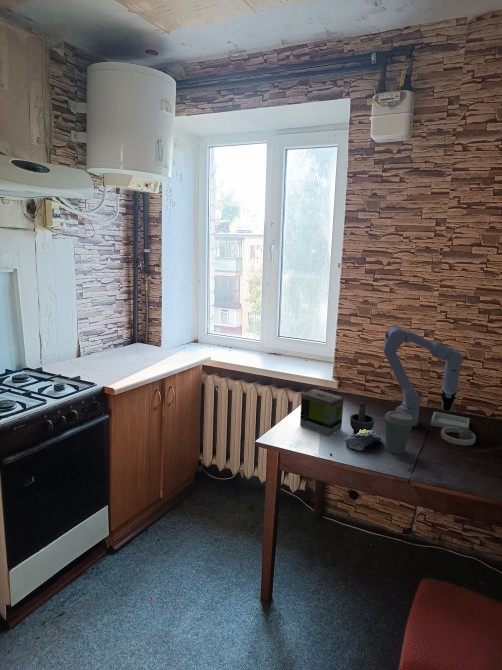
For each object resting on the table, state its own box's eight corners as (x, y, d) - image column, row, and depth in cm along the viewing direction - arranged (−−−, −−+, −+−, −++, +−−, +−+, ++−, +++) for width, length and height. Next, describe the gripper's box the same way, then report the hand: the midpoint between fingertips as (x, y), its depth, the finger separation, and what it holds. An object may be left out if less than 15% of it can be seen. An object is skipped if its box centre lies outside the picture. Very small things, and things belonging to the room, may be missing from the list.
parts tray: (430, 427, 192) (431, 420, 191) (433, 417, 202) (433, 411, 201) (467, 434, 185) (468, 428, 185) (468, 424, 195) (469, 418, 195)
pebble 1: (446, 412, 187) (447, 403, 186) (438, 408, 191) (440, 399, 190) (454, 411, 188) (456, 402, 187) (447, 407, 192) (448, 398, 191)
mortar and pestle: (373, 440, 178) (375, 412, 175) (349, 437, 180) (351, 410, 177) (371, 428, 189) (374, 402, 186) (349, 426, 191) (351, 399, 188)
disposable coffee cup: (386, 441, 177) (390, 406, 174) (414, 449, 171) (418, 413, 168) (377, 451, 169) (380, 414, 165) (405, 460, 163) (410, 422, 159)
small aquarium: (342, 429, 187) (344, 396, 184) (329, 437, 180) (331, 402, 176) (312, 419, 197) (314, 387, 194) (299, 425, 190) (300, 393, 186)
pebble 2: (464, 443, 176) (465, 433, 175) (456, 438, 180) (457, 429, 179) (473, 441, 177) (474, 432, 176) (465, 437, 181) (466, 427, 181)
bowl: (456, 449, 172) (457, 442, 172) (434, 435, 184) (435, 428, 183) (481, 445, 176) (482, 438, 176) (458, 432, 188) (459, 425, 187)
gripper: (461, 385, 178) (456, 416, 181) (461, 375, 191) (457, 404, 194) (442, 382, 181) (437, 413, 184) (444, 372, 194) (440, 401, 197)
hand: (446, 408), depth 189 cm, fingers closed on pebble 1, 4 cm apart
